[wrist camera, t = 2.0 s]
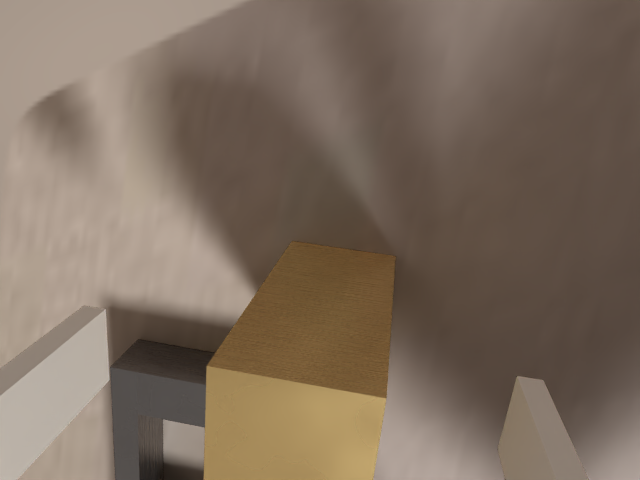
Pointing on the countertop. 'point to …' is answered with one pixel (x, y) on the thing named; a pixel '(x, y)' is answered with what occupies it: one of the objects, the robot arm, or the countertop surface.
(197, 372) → the rack
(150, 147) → the countertop surface
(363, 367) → the brass block
